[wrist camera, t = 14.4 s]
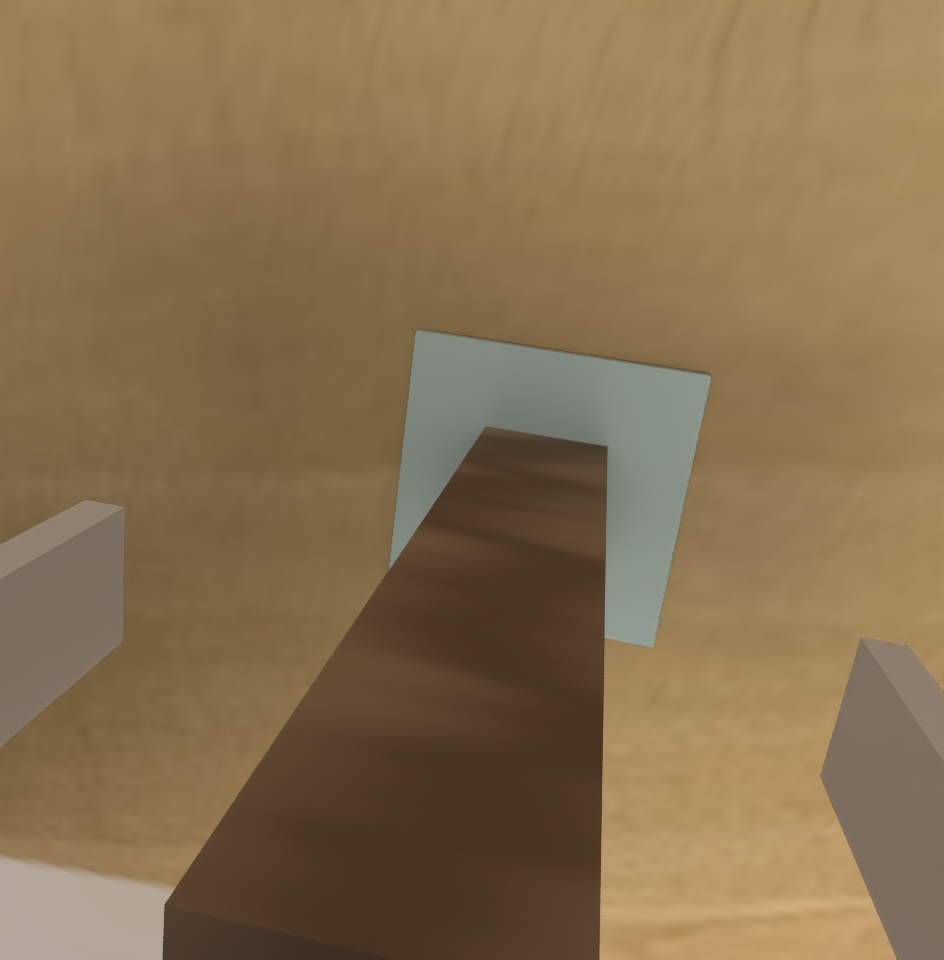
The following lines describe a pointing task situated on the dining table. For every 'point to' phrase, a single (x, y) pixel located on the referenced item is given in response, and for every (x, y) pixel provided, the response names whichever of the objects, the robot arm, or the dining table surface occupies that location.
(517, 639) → the brown wooden bar
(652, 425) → the pad
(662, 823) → the dining table surface
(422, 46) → the dining table surface
